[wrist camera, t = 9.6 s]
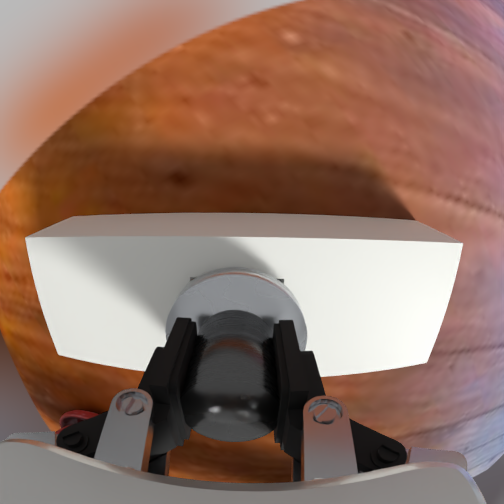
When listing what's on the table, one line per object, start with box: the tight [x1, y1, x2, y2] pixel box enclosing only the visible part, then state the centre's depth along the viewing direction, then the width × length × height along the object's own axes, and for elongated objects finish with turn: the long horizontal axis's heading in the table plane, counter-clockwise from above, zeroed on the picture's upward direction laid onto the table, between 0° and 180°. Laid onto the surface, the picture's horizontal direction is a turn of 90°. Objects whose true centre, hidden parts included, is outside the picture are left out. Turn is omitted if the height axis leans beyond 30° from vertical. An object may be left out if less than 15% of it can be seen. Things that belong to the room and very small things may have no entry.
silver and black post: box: [165, 267, 307, 442], centre depth 12 cm, size 6×6×10 cm
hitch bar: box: [25, 213, 463, 377], centre depth 16 cm, size 8×24×5 cm, turn 89°
